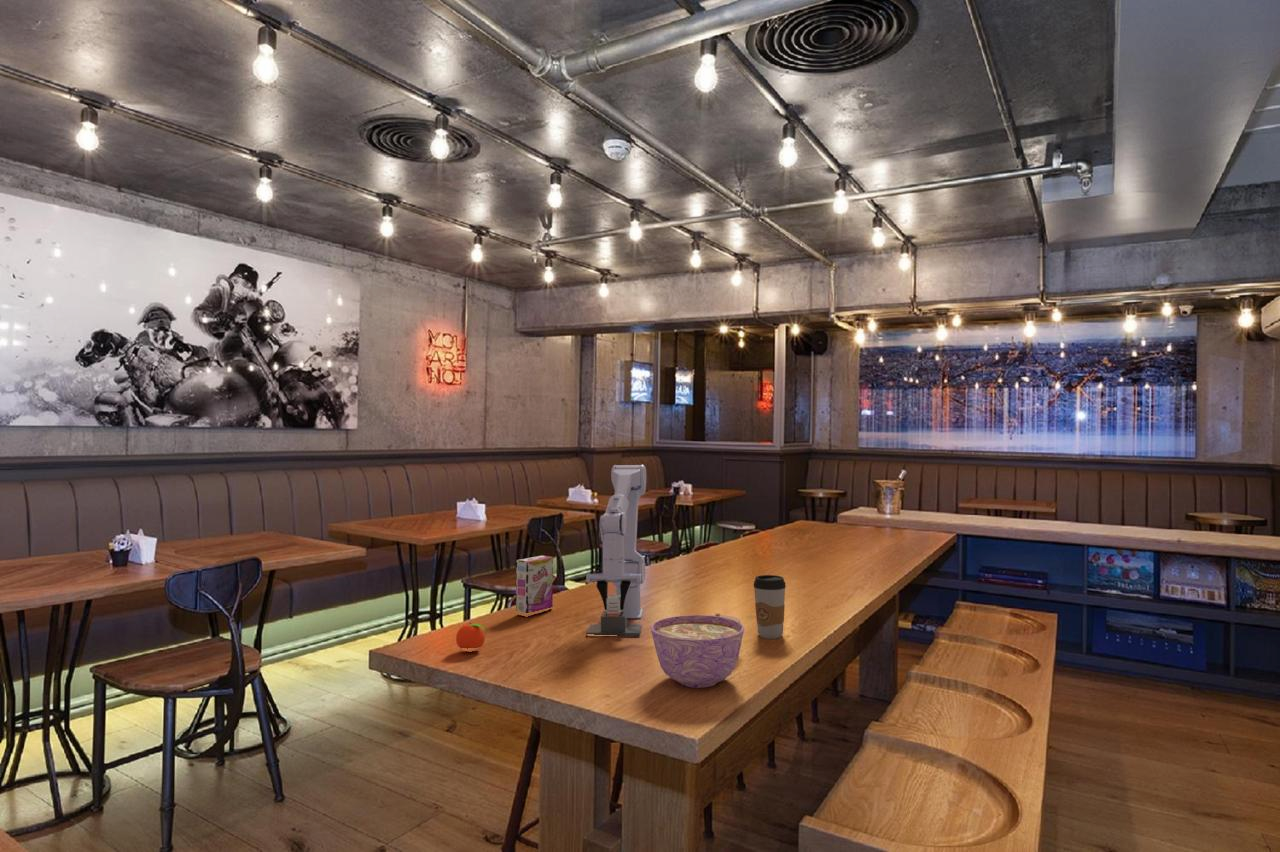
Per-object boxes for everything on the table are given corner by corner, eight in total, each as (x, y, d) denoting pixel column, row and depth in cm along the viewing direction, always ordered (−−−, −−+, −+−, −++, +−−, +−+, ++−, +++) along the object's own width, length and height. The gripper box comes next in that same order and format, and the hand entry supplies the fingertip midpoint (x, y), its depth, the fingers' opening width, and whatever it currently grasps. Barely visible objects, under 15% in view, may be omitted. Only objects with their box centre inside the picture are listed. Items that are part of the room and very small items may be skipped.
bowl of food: (670, 661, 164) (669, 611, 164) (755, 671, 156) (754, 619, 156) (636, 691, 145) (635, 634, 146) (731, 703, 138) (730, 644, 138)
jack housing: (590, 628, 194) (590, 608, 194) (641, 628, 193) (641, 609, 193) (586, 636, 186) (586, 616, 186) (639, 636, 185) (639, 616, 185)
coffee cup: (747, 636, 184) (746, 578, 184) (765, 629, 190) (764, 573, 190) (775, 642, 178) (774, 582, 179) (792, 634, 185) (791, 577, 185)
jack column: (608, 626, 191) (607, 595, 192) (622, 626, 191) (621, 595, 191) (606, 629, 188) (606, 598, 188) (620, 629, 187) (620, 598, 187)
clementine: (494, 649, 176) (493, 620, 176) (480, 657, 169) (480, 627, 170) (465, 646, 178) (464, 618, 178) (450, 655, 172) (450, 625, 172)
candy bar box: (527, 618, 206) (527, 561, 206) (515, 615, 209) (514, 560, 209) (554, 610, 215) (553, 556, 215) (542, 608, 218) (541, 554, 218)
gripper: (584, 560, 186) (585, 612, 186) (639, 560, 185) (640, 612, 185) (588, 556, 193) (589, 606, 193) (641, 556, 192) (642, 606, 192)
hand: (614, 609), depth 189 cm, fingers closed on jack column, 4 cm apart
